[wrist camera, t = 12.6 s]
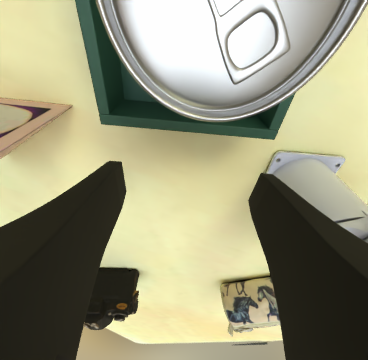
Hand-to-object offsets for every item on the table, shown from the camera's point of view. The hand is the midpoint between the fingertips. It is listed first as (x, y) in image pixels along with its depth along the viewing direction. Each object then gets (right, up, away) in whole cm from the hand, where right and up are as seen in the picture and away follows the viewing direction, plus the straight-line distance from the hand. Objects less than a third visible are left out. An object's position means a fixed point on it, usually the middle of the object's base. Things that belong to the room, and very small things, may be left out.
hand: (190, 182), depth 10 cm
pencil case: (+19, -23, +32) cm, 44 cm away
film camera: (-17, -22, +32) cm, 43 cm away
